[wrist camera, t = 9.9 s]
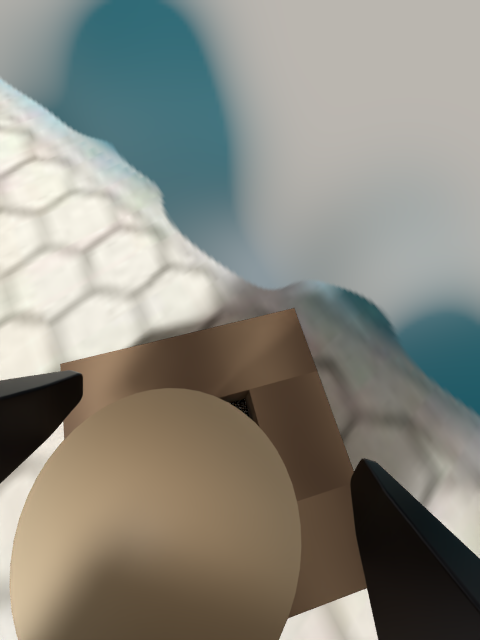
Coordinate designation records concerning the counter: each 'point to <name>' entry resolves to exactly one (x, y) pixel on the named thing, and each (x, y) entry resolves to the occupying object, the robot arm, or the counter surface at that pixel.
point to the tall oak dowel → (158, 528)
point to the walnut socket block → (268, 413)
